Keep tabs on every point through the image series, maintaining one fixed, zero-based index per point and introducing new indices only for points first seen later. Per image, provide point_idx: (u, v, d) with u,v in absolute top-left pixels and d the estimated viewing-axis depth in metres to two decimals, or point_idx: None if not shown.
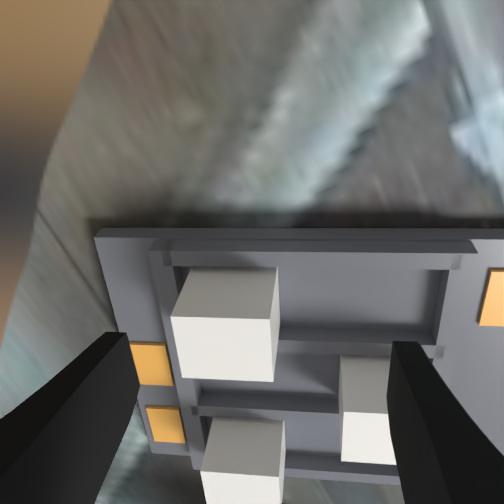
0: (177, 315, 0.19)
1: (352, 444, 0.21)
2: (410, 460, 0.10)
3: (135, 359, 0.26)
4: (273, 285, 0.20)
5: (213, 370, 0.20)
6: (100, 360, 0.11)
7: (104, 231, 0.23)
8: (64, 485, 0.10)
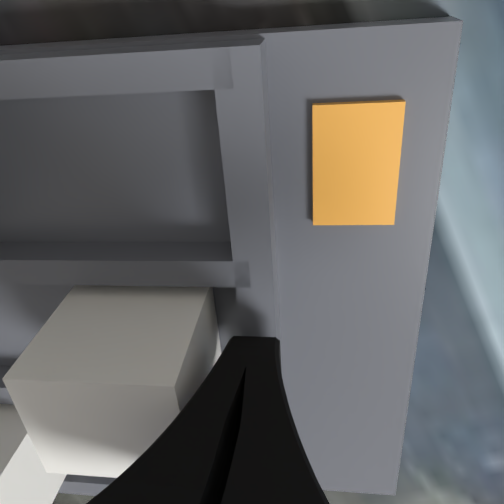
0: None
1: (49, 441, 0.12)
2: None
3: None
4: None
5: None
6: (244, 366, 0.11)
7: None
8: None
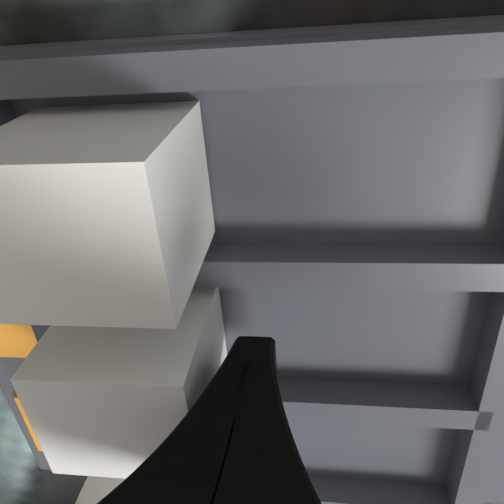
0: None
1: (56, 442, 0.12)
2: None
3: None
4: (177, 121, 0.09)
5: (46, 304, 0.09)
6: (251, 366, 0.11)
7: None
8: None
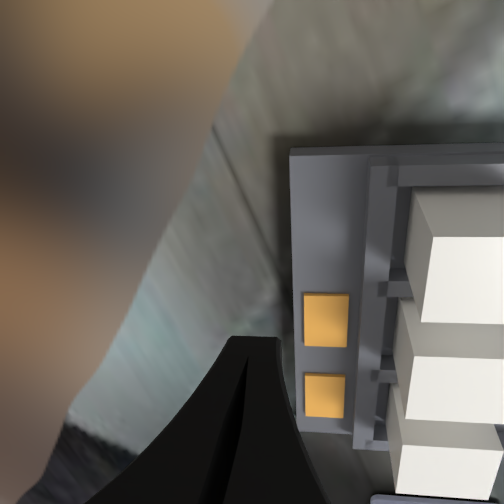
0: (442, 236, 0.15)
1: (421, 397, 0.18)
2: None
3: (307, 314, 0.22)
4: None
5: (467, 311, 0.16)
6: (242, 366, 0.11)
7: (297, 150, 0.19)
8: (225, 498, 0.10)
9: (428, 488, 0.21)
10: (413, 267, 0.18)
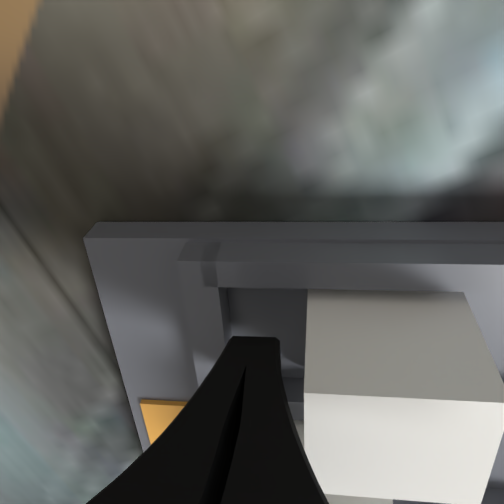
0: (318, 392, 0.10)
1: None
2: None
3: (149, 424, 0.17)
4: (476, 326, 0.11)
5: (367, 483, 0.11)
6: (244, 366, 0.11)
7: (101, 227, 0.14)
8: None
9: None
10: None
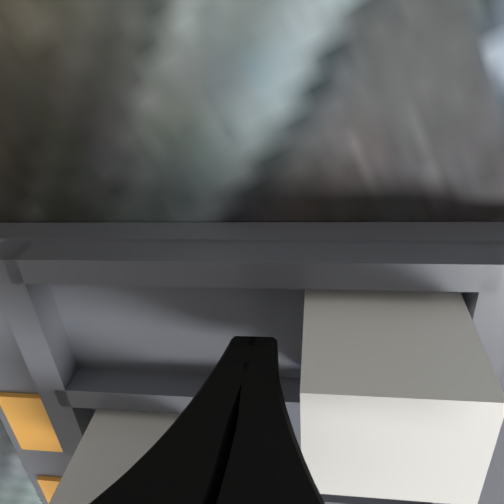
0: (314, 391, 0.10)
1: None
2: None
3: (9, 416, 0.18)
4: (472, 326, 0.11)
5: (364, 483, 0.11)
6: (246, 366, 0.11)
7: None
8: None
9: None
10: None
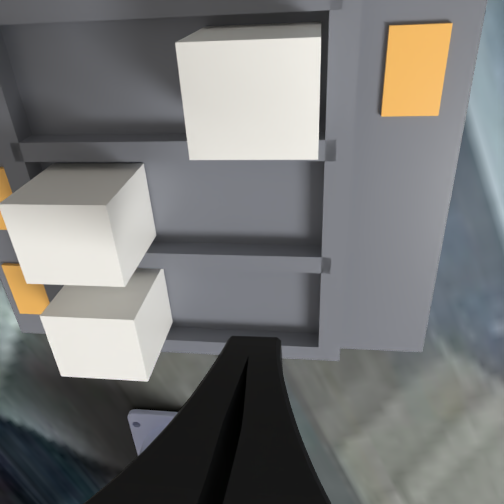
0: (185, 41, 0.13)
1: (28, 256, 0.18)
2: None
3: None
4: (319, 27, 0.14)
5: (234, 143, 0.14)
6: (243, 366, 0.11)
7: None
8: (225, 498, 0.10)
9: (88, 369, 0.20)
10: None
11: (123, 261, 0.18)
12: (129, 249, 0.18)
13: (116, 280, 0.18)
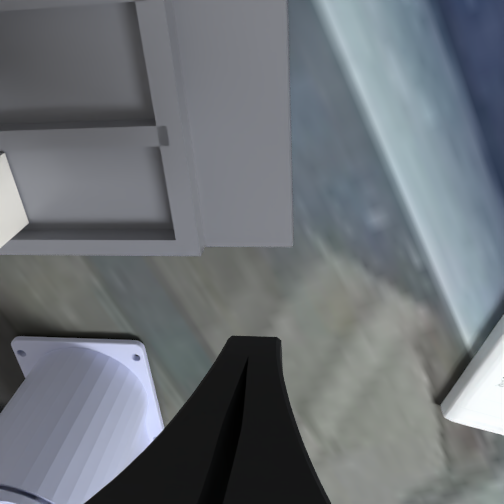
0: None
1: None
2: None
3: None
4: None
5: None
6: (243, 366, 0.11)
7: None
8: (225, 498, 0.10)
9: None
10: None
11: None
12: None
13: None
